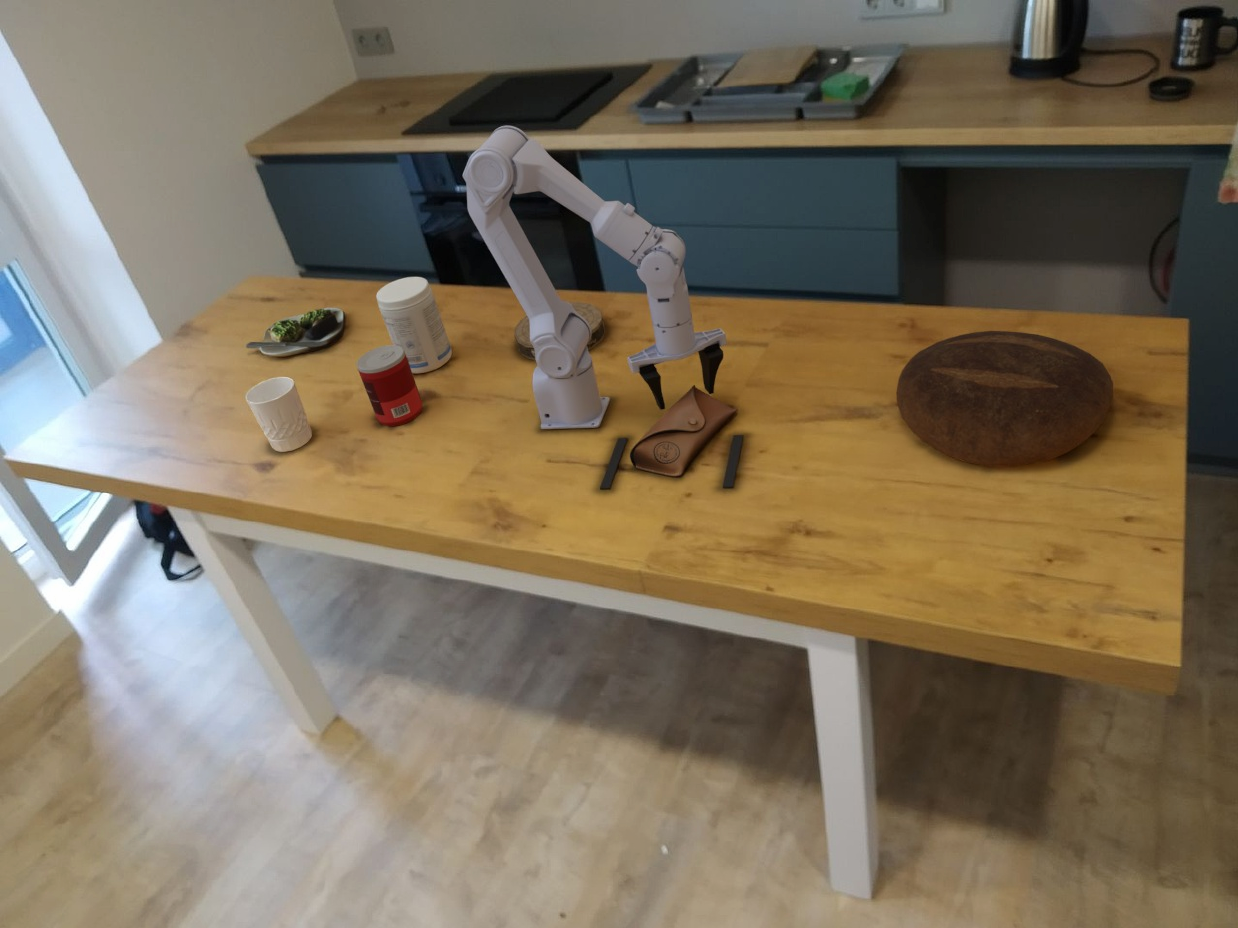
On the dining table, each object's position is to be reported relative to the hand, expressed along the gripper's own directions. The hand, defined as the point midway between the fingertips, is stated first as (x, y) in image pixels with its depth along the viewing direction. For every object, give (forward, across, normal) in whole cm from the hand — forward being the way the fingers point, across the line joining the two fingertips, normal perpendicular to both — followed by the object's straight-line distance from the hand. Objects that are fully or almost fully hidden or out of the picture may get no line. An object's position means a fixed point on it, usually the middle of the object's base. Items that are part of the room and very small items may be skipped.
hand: (685, 398), depth 148 cm
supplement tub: (+3, +35, -42) cm, 55 cm away
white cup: (+3, +60, -28) cm, 66 cm away
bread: (+3, -37, +23) cm, 44 cm away
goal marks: (+2, +6, +11) cm, 13 cm away
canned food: (+3, +42, -26) cm, 49 cm away
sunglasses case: (+3, +2, +7) cm, 8 cm away
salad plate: (+3, +56, -67) cm, 88 cm away
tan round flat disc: (+3, +11, -35) cm, 37 cm away
